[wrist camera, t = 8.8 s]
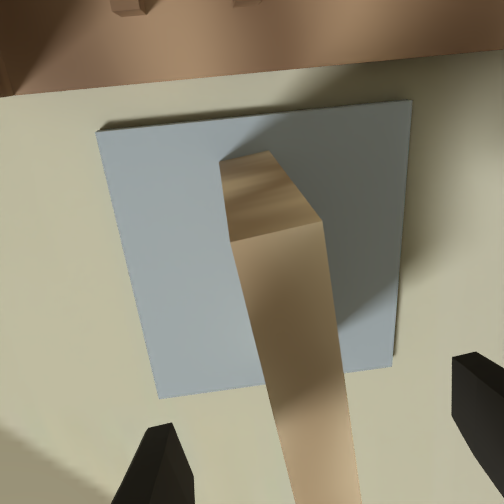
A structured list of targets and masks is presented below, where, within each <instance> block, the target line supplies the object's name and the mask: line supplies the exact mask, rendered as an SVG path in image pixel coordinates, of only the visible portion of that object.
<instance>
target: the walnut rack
mask: <svg viewBox="0 0 504 504" xmlns="http://www.w3.org/2000/svg"><path fill="white" fill-rule="evenodd" d="M502 49H504V0H0V97H7V96H13V95H23V94H34V93H45V92H55V91H66V90H77V89H87V88H98V87H108V86H119V85H130V84H140V83H151V82H162V81H172V80H183V79H193V78H204V77H215V76H225V75H236V74H247V73H257V72H268V71H278V70H289V69H300V68H310V67H321V66H332V65H342V64H353V63H363V62H374V61H385V60H395V59H406V58H417V57H427V56H438V55H448V54H459V53H470V52H480V51H491V50H502Z"/></svg>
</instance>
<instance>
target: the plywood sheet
mask: <svg viewBox="0 0 504 504" xmlns="http://www.w3.org/2000/svg"><path fill="white" fill-rule="evenodd" d="M219 167H220V175H221V182H222V189H223V196H224V203H225V210H226V217H227V224H228V231H229V238H230V244H231V248H232V252H233V256H234V260H235V264H236V268H237V272H238V276H239V280H240V284H241V288H242V292H243V296H244V300H245V304H246V308H247V312H248V316H249V320H250V324H251V328H252V332H253V336H254V340H255V344H256V348H257V352H258V356H259V360H260V364H261V368H262V372H263V376H264V380H265V384H266V387H267V391H268V395H269V399H270V403H271V407H272V411H273V415H274V419H275V423H276V427H277V431H278V435H279V439H280V443H281V447H282V451H283V455H284V459H285V463H286V467H287V471H288V475H289V479H290V483H291V487H292V491H293V495H294V499H295V503H296V504H362V501H361V493H360V486H359V479H358V472H357V465H356V458H355V451H354V443H353V436H352V429H351V422H350V415H349V408H348V400H347V393H346V386H345V379H344V372H343V365H342V358H341V350H340V343H339V336H338V329H337V322H336V315H335V307H334V300H333V293H332V286H331V279H330V272H329V265H328V257H327V250H326V243H325V236H324V229H323V222H322V220H321V218H320V217H319V216H318V214H317V213H316V212H315V211H314V209H313V208H312V207H311V205H310V204H309V203H308V201H307V200H306V199H305V197H304V196H303V195H302V193H301V192H300V191H299V189H298V188H297V187H296V185H295V184H294V183H293V181H292V180H291V179H290V178H289V176H288V175H287V174H286V172H285V171H284V170H283V168H282V167H281V166H280V164H279V163H278V162H277V160H276V159H275V158H274V156H273V155H272V154H271V152H270V151H269V150H268V151H264V152H259V153H255V154H251V155H246V156H242V157H238V158H233V159H229V160H225V161H220V162H219Z"/></svg>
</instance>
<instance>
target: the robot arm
mask: <svg viewBox="0 0 504 504" xmlns="http://www.w3.org/2000/svg"><path fill="white" fill-rule="evenodd" d="M452 417H453V419H454V421H455V423H456V425H457V426H458V428H459V430H460V432H461V434H462V436H463V437H464V439H465V441H466V443H467V444H468V446H469V448H470V450H471V451H472V453H473V455H474V456H475V458H476V459H477V461H478V462H479V464H480V465H481V466H482V468H483V469H484V471H485V472H486V473H487V475H488V476H489V478H490V479H491V481H492V482H493V483H494V485H495V486H496V488H497V489H498V490H499V492H500V493H501V495H502V496H503V497H504V368H502V367H501V366H499V365H497V364H496V363H494V362H493V361H491V360H489V359H488V358H486V357H484V356H482V355H481V354H479V353H477V352H472V353H468V354H463V355H459V356H455V357H452ZM111 504H195V496H194V476H193V473H192V471H191V468H190V466H189V463H188V461H187V458H186V456H185V453H184V451H183V448H182V446H181V444H180V441H179V439H178V436H177V434H176V431H175V429H174V426H173V424H172V423H167V424H163V425H159V426H155V427H150V428H148V429H147V430H146V432H145V434H144V436H143V438H142V440H141V443H140V445H139V447H138V449H137V451H136V453H135V456H134V458H133V460H132V462H131V464H130V466H129V468H128V470H127V472H126V475H125V477H124V479H123V481H122V483H121V485H120V487H119V489H118V491H117V493H116V495H115V497H114V499H113V500H112V502H111Z"/></svg>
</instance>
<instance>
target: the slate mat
mask: <svg viewBox="0 0 504 504" xmlns="http://www.w3.org/2000/svg"><path fill="white" fill-rule="evenodd" d="M412 101H413V100H397V101H387V102H377V103H367V104H357V105H347V106H337V107H327V108H317V109H307V110H297V111H287V112H277V113H267V114H257V115H247V116H237V117H227V118H217V119H207V120H197V121H187V122H177V123H167V124H157V125H147V126H137V127H127V128H117V129H107V130H98V131H97V132H95V134H96V138H97V142H98V146H99V150H100V155H101V159H102V163H103V167H104V171H105V175H106V180H107V184H108V188H109V192H110V196H111V201H112V205H113V209H114V213H115V217H116V222H117V226H118V230H119V234H120V238H121V242H122V247H123V251H124V255H125V259H126V263H127V268H128V272H129V276H130V280H131V284H132V288H133V293H134V297H135V301H136V305H137V309H138V314H139V318H140V322H141V326H142V330H143V334H144V339H145V343H146V347H147V351H148V355H149V360H150V364H151V368H152V372H153V376H154V380H155V385H156V389H157V393H158V397H159V399H164V398H171V397H179V396H186V395H193V394H200V393H207V392H214V391H221V390H228V389H236V388H243V387H250V386H257V385H264V384H265V380H264V376H263V372H262V368H261V364H260V360H259V356H258V352H257V348H256V344H255V340H254V336H253V332H252V328H251V324H250V320H249V316H248V312H247V308H246V304H245V300H244V296H243V292H242V288H241V284H240V280H239V276H238V272H237V268H236V264H235V260H234V256H233V252H232V248H231V244H230V238H229V231H228V224H227V217H226V210H225V203H224V196H223V189H222V182H221V175H220V167H219V162H220V161H225V160H229V159H233V158H238V157H242V156H246V155H251V154H255V153H259V152H264V151H268V150H269V151H270V152H271V154H272V155H273V156H274V158H275V159H276V160H277V162H278V163H279V164H280V166H281V167H282V168H283V170H284V171H285V172H286V174H287V175H288V176H289V178H290V179H291V180H292V181H293V183H294V184H295V185H296V187H297V188H298V189H299V191H300V192H301V193H302V195H303V196H304V197H305V199H306V200H307V201H308V203H309V204H310V205H311V207H312V208H313V209H314V211H315V212H316V213H317V214H318V216H319V217H320V218H321V220H322V222H323V229H324V236H325V243H326V250H327V257H328V265H329V272H330V279H331V286H332V293H333V300H334V307H335V315H336V322H337V329H338V336H339V343H340V350H341V358H342V365H343V372H344V373H350V372H357V371H364V370H371V369H378V368H386V367H392V359H393V346H394V333H395V320H396V307H397V294H398V282H399V269H400V256H401V243H402V230H403V217H404V204H405V191H406V179H407V166H408V153H409V140H410V127H411V114H412Z"/></svg>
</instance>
